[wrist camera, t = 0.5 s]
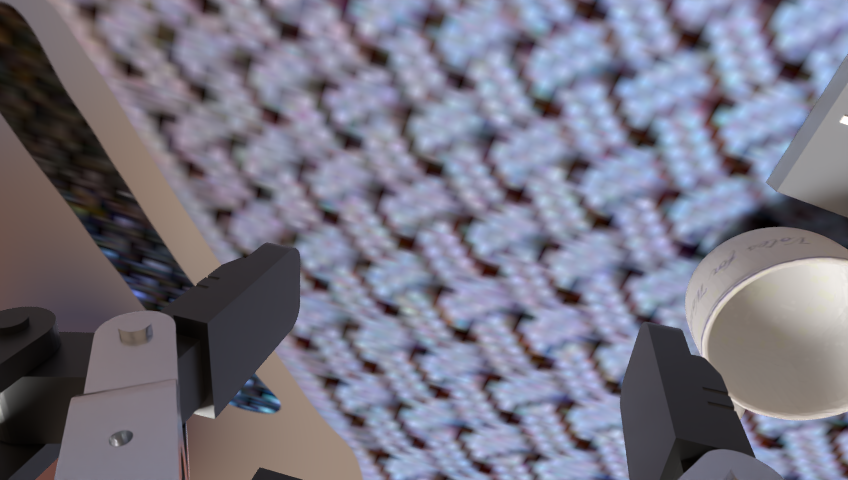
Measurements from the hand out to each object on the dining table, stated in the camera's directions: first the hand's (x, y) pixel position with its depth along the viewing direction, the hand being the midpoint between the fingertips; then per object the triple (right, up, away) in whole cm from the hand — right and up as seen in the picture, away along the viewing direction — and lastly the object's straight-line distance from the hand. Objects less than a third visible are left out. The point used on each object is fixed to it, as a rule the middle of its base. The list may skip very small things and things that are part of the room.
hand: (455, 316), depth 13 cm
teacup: (+22, -2, +26) cm, 34 cm away
